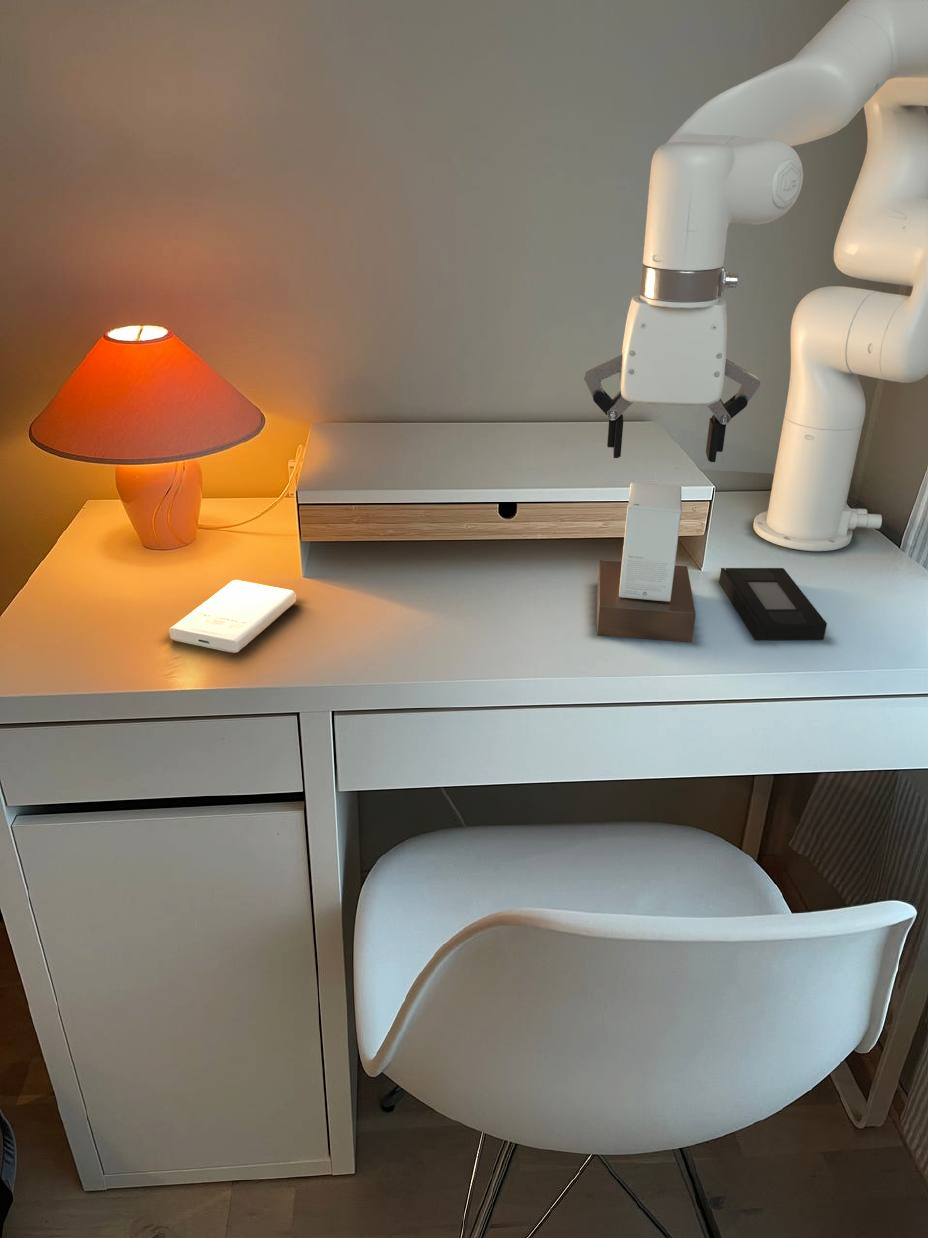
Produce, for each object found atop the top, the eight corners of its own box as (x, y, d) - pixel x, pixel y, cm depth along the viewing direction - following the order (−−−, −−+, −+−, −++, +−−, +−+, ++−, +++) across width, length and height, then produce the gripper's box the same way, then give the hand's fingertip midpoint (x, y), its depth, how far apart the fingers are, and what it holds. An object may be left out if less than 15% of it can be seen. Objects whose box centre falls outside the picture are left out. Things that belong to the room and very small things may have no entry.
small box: (670, 603, 105) (682, 511, 100) (617, 598, 106) (626, 506, 101) (671, 572, 112) (682, 484, 107) (621, 568, 113) (630, 480, 108)
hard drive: (296, 603, 112) (238, 654, 101) (233, 591, 114) (169, 640, 104) (296, 590, 111) (236, 640, 100) (232, 578, 113) (168, 626, 103)
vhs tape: (780, 583, 119) (783, 567, 118) (824, 640, 106) (827, 624, 105) (718, 583, 118) (721, 567, 118) (755, 641, 106) (758, 624, 105)
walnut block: (683, 593, 116) (687, 566, 114) (691, 642, 105) (695, 613, 104) (597, 587, 117) (600, 560, 115) (596, 635, 106) (599, 606, 105)
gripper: (767, 280, 97) (743, 447, 105) (590, 276, 99) (580, 441, 107) (779, 294, 91) (753, 472, 99) (589, 290, 92) (579, 464, 101)
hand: (663, 455), depth 103 cm, fingers open, 9 cm apart
